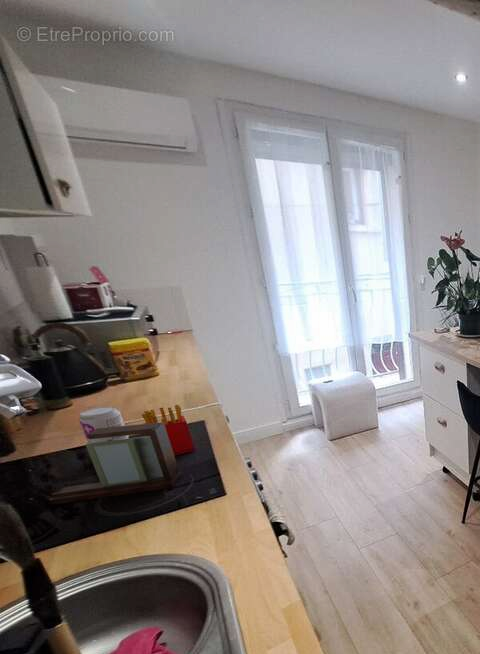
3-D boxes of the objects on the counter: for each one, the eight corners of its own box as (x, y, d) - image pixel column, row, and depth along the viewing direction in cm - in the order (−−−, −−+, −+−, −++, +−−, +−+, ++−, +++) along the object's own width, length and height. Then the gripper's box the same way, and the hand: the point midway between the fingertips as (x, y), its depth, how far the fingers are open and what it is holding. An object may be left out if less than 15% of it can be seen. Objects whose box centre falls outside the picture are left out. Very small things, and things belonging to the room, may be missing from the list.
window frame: (51, 505, 99) (22, 443, 93) (67, 492, 104) (41, 432, 98) (172, 487, 107) (153, 429, 101) (181, 476, 113) (164, 420, 107)
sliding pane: (102, 487, 103) (85, 444, 99) (104, 486, 104) (87, 443, 100) (147, 481, 106) (132, 439, 102) (148, 480, 107) (134, 438, 103)
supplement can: (101, 467, 116) (82, 418, 111) (92, 459, 120) (73, 412, 115) (138, 455, 123) (122, 409, 117) (128, 448, 127) (112, 403, 121)
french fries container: (153, 453, 124) (139, 410, 119) (191, 444, 130) (179, 403, 126) (156, 461, 120) (141, 417, 115) (195, 451, 126) (183, 409, 121)
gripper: (-98, 365, 76) (-21, 417, 80) (11, 354, 96) (69, 396, 100) (-125, 388, 76) (-46, 438, 80) (-9, 372, 95) (49, 413, 100)
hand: (18, 415), depth 90 cm, fingers closed
